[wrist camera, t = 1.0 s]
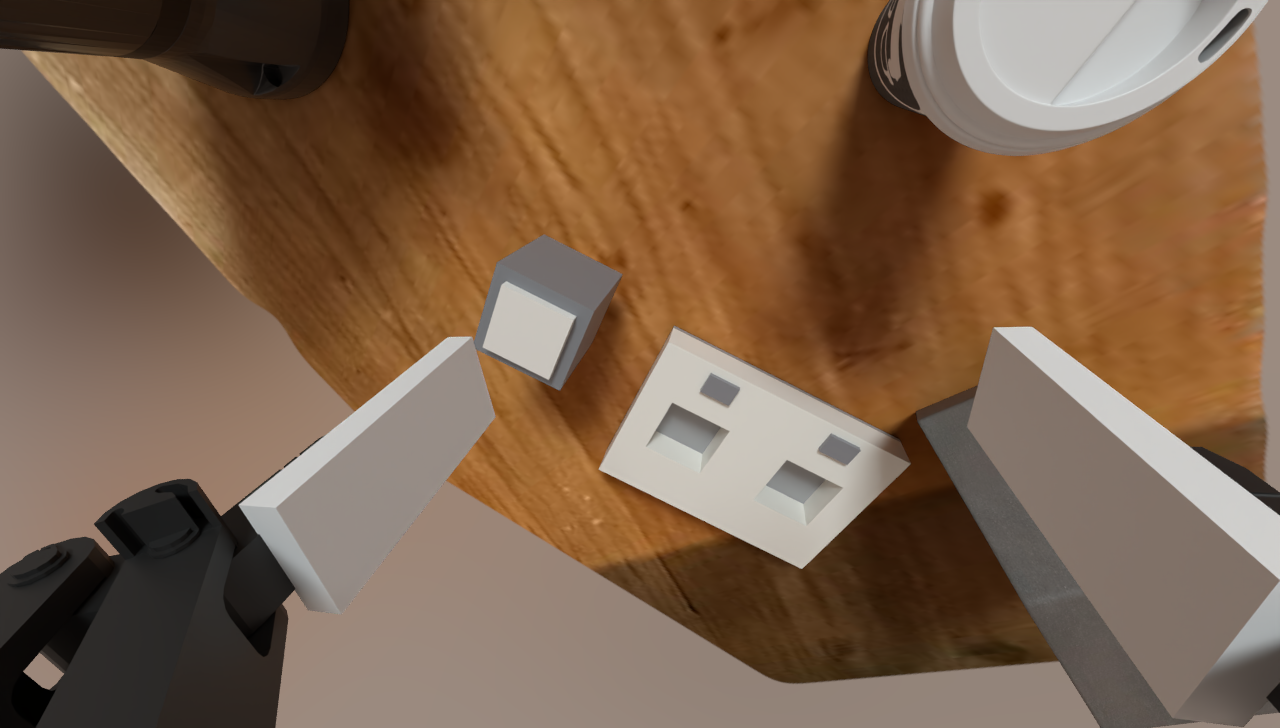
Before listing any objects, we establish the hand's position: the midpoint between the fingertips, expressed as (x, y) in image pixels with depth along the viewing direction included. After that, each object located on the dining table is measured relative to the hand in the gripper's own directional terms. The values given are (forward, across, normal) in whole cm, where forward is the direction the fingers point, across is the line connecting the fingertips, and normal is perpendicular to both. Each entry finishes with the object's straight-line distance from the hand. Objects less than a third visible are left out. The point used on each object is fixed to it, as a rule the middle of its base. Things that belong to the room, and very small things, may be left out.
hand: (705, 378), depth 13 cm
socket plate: (+22, +1, -19) cm, 30 cm away
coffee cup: (+23, +11, +8) cm, 27 cm away
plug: (+23, -11, -4) cm, 26 cm away
